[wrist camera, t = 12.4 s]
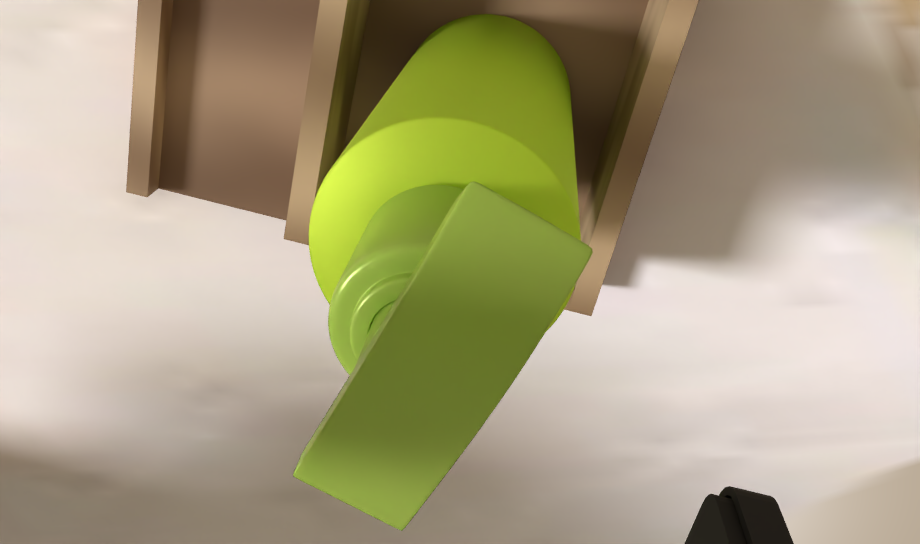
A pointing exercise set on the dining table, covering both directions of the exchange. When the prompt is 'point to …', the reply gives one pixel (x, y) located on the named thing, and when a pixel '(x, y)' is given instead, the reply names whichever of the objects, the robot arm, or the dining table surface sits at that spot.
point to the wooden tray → (375, 96)
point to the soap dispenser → (442, 258)
